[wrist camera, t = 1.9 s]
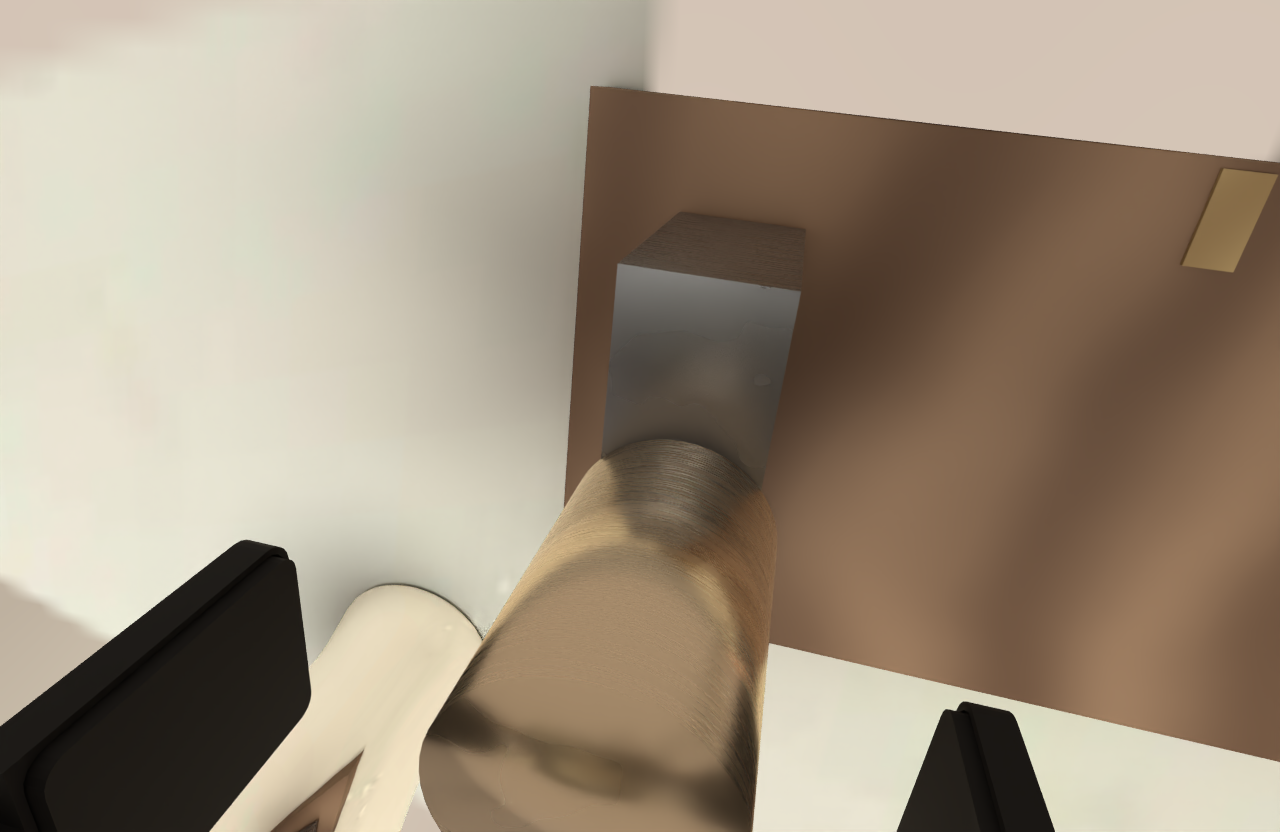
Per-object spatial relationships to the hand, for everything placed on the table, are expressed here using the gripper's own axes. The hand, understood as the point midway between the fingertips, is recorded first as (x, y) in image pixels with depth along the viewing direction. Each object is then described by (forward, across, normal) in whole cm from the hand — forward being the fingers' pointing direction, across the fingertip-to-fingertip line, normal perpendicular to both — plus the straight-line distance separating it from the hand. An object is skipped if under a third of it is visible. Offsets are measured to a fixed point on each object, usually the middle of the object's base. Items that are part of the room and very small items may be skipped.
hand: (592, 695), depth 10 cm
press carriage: (+10, 0, 0) cm, 10 cm away
